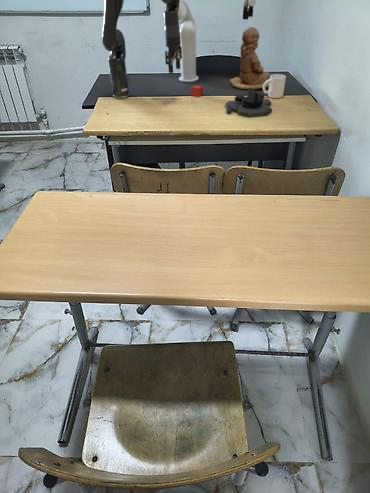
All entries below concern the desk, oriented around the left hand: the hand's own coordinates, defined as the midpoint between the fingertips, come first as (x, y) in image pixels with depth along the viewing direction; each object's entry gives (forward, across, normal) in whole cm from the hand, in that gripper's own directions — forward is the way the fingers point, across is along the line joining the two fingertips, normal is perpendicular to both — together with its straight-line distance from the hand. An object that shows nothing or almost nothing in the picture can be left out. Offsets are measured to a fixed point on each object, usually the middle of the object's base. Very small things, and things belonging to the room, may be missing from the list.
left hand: (174, 70), depth 186 cm
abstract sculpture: (+17, +3, -41) cm, 44 cm away
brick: (+16, +15, -6) cm, 23 cm away
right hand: (-16, +53, -22) cm, 60 cm away
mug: (+17, +26, -46) cm, 56 cm away
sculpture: (+17, +45, -28) cm, 56 cm away
